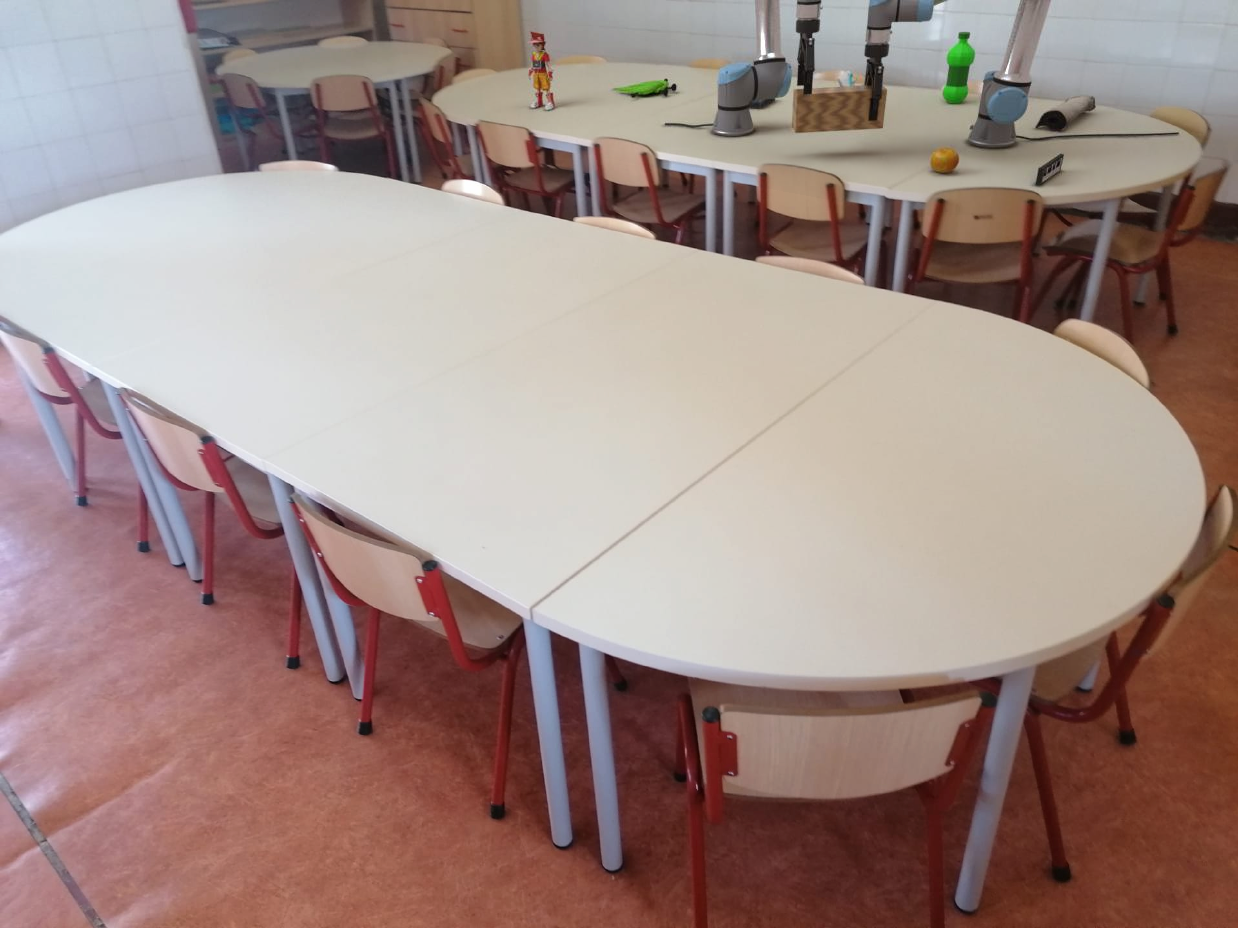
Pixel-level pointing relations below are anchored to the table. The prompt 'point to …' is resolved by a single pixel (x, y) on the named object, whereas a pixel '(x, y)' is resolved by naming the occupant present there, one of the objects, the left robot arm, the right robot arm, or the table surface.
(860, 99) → the box
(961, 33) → the plastic bottle
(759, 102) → the disk drive
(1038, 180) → the midi keyboard
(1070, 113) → the rolled mat
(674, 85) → the toy
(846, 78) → the anatomical model
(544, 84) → the toy
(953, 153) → the fruit
